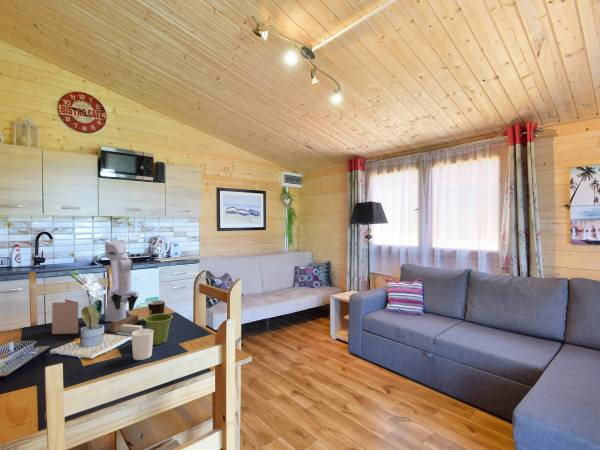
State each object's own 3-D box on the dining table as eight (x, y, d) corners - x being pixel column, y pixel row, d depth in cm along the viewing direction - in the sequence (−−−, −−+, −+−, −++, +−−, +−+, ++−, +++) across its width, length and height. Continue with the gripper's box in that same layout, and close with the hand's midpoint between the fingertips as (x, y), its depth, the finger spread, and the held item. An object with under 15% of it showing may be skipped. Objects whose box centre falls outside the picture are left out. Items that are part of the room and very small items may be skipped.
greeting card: (79, 332, 155) (80, 301, 155) (62, 337, 148) (63, 305, 148) (66, 328, 160) (67, 298, 160) (49, 333, 154) (49, 302, 153)
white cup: (147, 351, 135) (147, 327, 135) (156, 356, 130) (157, 331, 130) (128, 357, 129) (128, 332, 129) (136, 362, 124) (137, 337, 124)
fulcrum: (115, 334, 153) (115, 327, 153) (129, 328, 162) (129, 322, 162) (134, 336, 151) (134, 329, 151) (146, 330, 160) (146, 323, 160)
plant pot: (145, 349, 137) (146, 323, 137) (142, 340, 147) (142, 315, 147) (174, 343, 143) (175, 318, 143) (169, 335, 153) (169, 312, 153)
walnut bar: (109, 332, 157) (109, 324, 157) (132, 322, 172) (132, 315, 172) (115, 333, 156) (115, 324, 156) (138, 322, 172) (138, 315, 172)
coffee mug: (147, 319, 178) (147, 301, 178) (164, 317, 181) (164, 299, 181) (147, 325, 167) (147, 306, 167) (165, 323, 171) (165, 304, 171)
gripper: (106, 284, 161) (106, 310, 161) (131, 285, 159) (131, 312, 159) (116, 281, 168) (116, 307, 168) (141, 282, 166) (141, 309, 166)
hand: (124, 309), depth 164 cm, fingers open, 7 cm apart
